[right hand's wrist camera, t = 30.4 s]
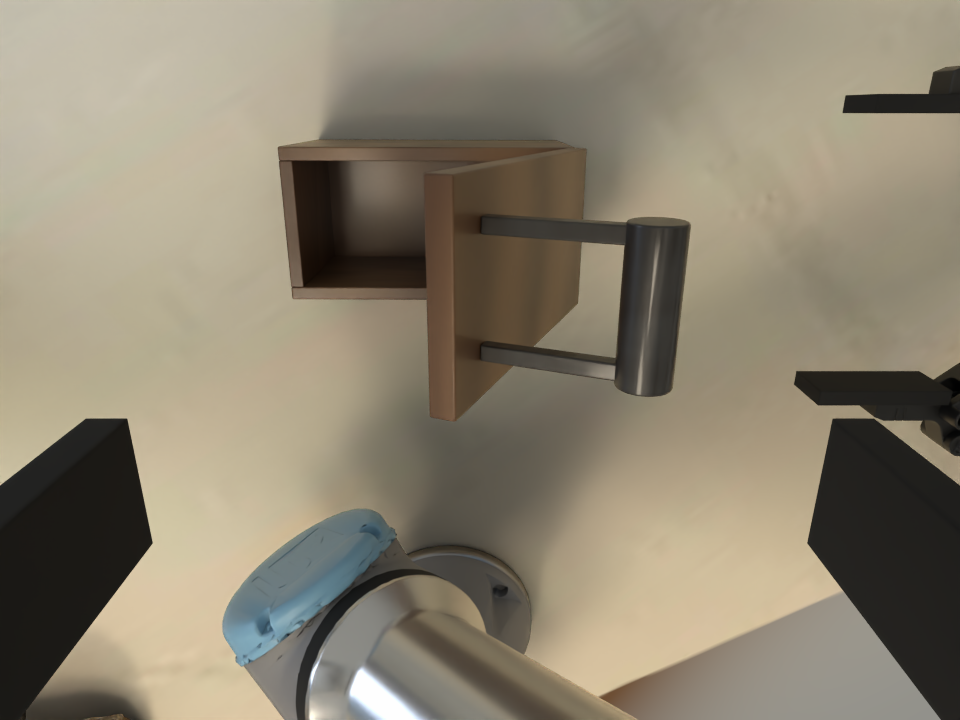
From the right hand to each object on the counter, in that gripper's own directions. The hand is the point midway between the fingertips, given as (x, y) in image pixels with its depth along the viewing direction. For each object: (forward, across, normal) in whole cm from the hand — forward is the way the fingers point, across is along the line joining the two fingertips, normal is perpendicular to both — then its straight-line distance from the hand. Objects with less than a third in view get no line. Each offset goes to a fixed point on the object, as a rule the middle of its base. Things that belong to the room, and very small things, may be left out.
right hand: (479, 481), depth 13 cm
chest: (+40, +3, 0) cm, 40 cm away
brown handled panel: (+21, -2, 0) cm, 21 cm away
